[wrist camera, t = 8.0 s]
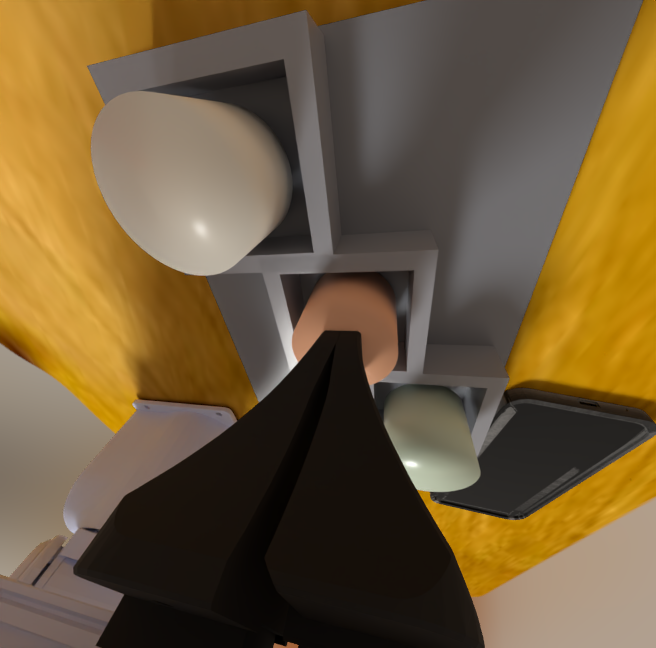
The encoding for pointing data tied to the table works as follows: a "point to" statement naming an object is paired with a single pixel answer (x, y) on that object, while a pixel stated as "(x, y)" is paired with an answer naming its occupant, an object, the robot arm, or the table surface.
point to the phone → (545, 450)
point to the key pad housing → (406, 168)
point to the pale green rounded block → (431, 437)
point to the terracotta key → (353, 318)
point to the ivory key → (190, 178)
